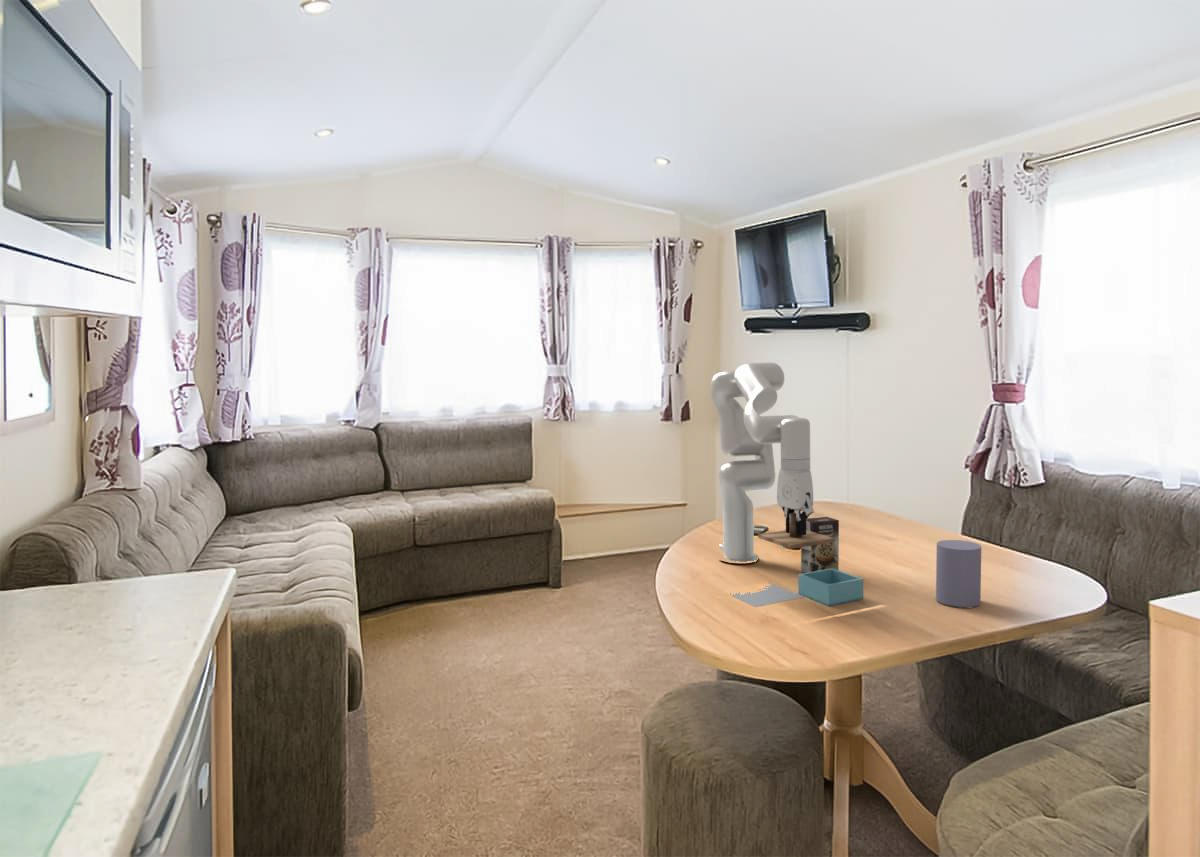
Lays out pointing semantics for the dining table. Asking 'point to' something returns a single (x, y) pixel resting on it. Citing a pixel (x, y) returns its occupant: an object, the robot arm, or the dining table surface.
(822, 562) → the coffee box
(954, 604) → the container
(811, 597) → the open box
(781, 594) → the mat
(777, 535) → the lid
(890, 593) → the dining table surface
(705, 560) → the dining table surface
